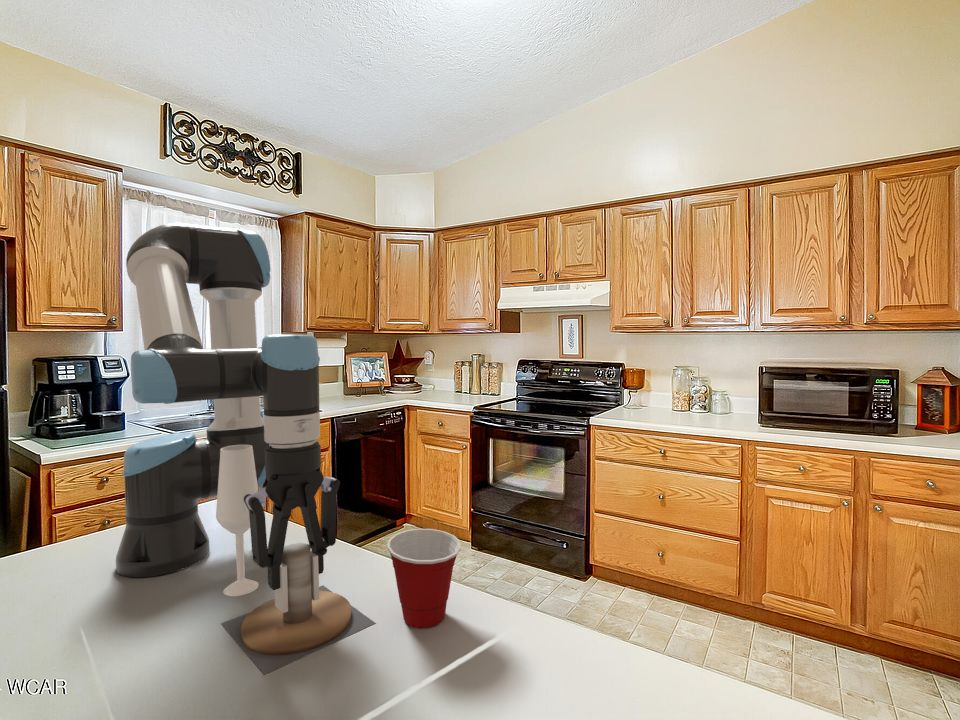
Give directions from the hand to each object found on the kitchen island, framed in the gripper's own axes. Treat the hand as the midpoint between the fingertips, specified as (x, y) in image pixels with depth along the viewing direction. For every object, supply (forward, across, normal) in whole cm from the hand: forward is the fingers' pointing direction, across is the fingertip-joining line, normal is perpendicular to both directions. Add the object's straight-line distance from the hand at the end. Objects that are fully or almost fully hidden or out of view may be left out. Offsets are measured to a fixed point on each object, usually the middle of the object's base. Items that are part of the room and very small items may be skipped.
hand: (297, 602), depth 74 cm
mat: (+4, 0, 0) cm, 4 cm away
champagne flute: (+4, -2, +17) cm, 18 cm away
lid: (+3, 0, 0) cm, 3 cm away
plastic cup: (+4, +14, -12) cm, 19 cm away
